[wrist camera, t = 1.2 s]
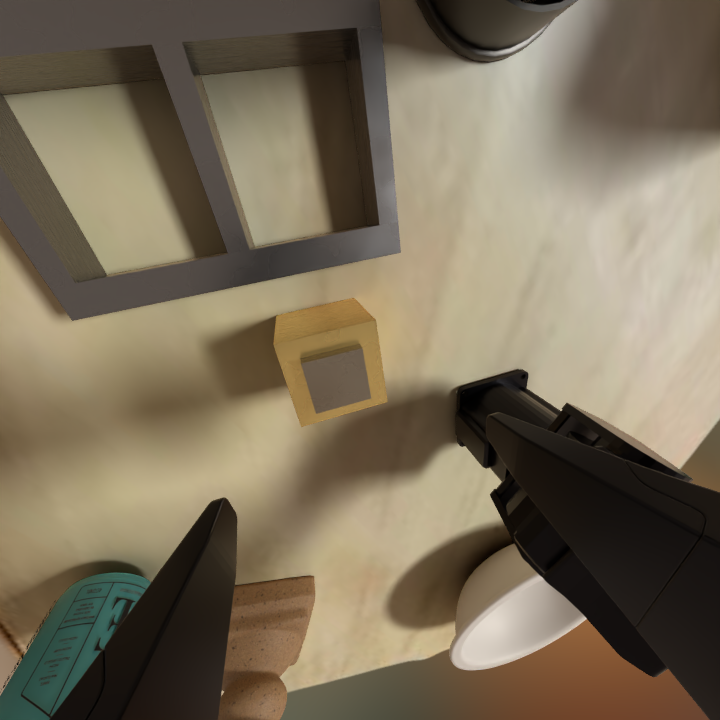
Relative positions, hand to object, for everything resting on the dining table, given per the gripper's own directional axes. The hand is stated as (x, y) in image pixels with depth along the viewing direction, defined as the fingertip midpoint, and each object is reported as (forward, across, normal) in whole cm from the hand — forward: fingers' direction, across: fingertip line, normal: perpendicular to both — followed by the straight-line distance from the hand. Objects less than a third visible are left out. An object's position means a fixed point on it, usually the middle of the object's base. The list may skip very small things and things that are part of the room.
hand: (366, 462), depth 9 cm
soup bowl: (+11, -17, +40) cm, 44 cm away
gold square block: (+11, 0, 0) cm, 11 cm away
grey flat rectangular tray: (+11, +3, -10) cm, 15 cm away
